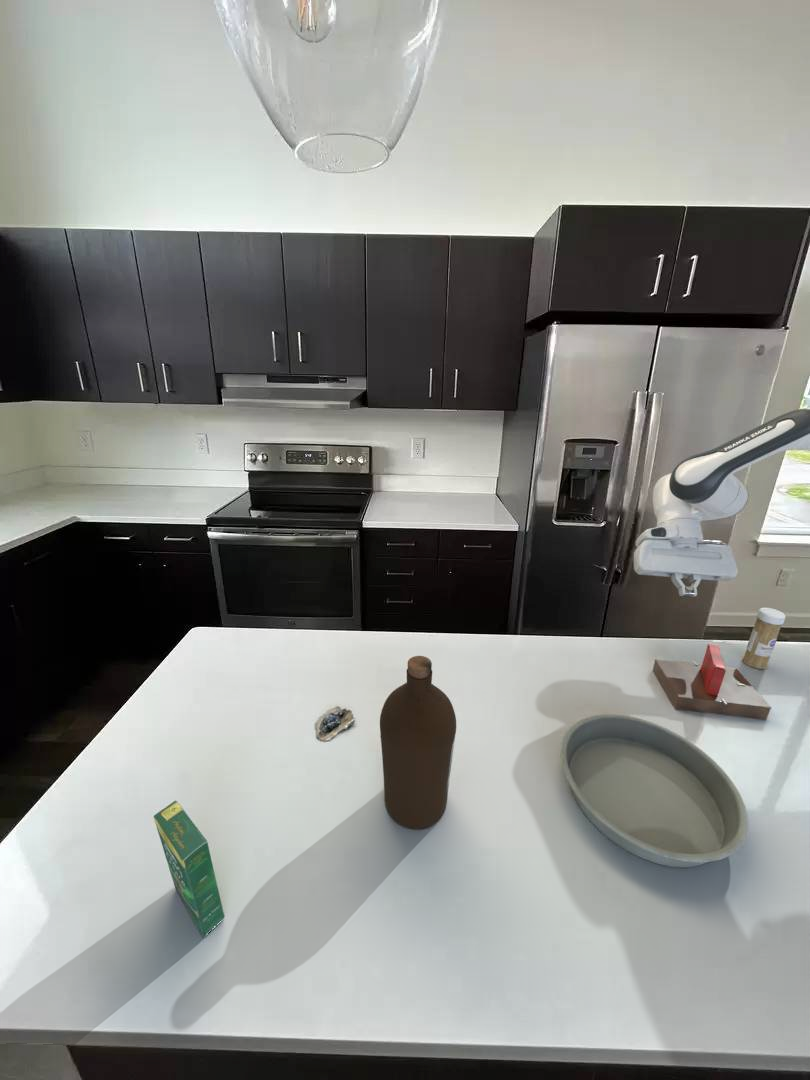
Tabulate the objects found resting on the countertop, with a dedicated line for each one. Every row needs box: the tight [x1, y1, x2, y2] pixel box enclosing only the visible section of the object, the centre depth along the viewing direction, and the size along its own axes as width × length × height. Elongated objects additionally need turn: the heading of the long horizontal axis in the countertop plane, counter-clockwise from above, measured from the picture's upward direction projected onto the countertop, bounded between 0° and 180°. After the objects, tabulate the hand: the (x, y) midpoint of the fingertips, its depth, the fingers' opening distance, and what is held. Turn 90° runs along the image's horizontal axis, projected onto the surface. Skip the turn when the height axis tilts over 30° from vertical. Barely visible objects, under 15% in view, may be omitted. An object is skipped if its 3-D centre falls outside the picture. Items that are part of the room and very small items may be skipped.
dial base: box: [651, 659, 772, 721], centre depth 87 cm, size 16×13×3 cm
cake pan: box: [560, 713, 749, 868], centre depth 65 cm, size 25×25×4 cm
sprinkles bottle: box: [742, 607, 787, 670], centre depth 95 cm, size 5×5×13 cm
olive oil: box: [379, 655, 457, 830], centre depth 60 cm, size 11×11×25 cm
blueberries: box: [314, 705, 356, 742], centre depth 78 cm, size 7×8×2 cm
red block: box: [701, 643, 726, 696], centre depth 85 cm, size 9×2×6 cm, turn 153°
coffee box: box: [153, 800, 226, 938], centre depth 49 cm, size 8×3×13 cm, turn 49°
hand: (688, 595), depth 93 cm, fingers closed
